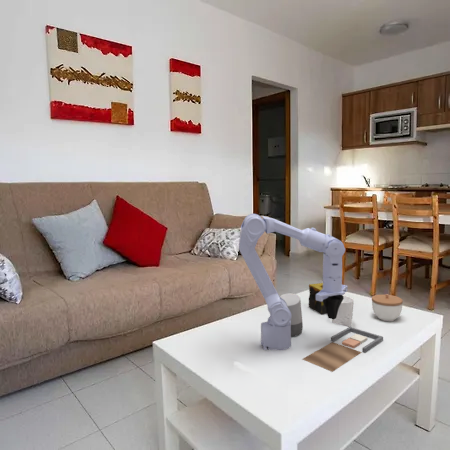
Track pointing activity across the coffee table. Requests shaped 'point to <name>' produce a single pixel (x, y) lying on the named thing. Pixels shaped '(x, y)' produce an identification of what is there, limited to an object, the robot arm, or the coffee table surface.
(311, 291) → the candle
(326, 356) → the brown wooden board
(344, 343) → the terracotta tile
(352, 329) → the tray
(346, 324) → the white cup
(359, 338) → the cream tile
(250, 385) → the coffee table surface
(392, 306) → the lidded jar
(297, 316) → the smart speaker
